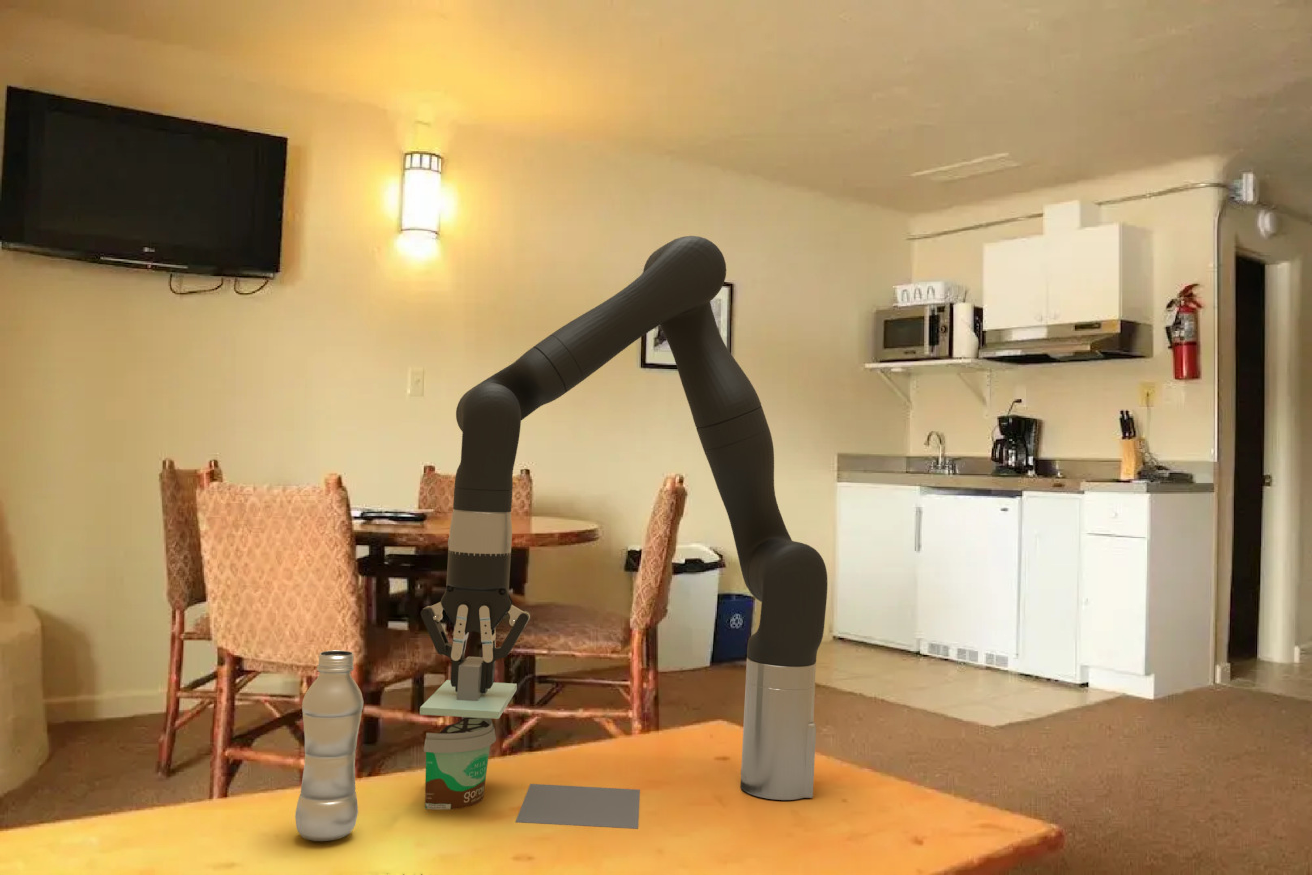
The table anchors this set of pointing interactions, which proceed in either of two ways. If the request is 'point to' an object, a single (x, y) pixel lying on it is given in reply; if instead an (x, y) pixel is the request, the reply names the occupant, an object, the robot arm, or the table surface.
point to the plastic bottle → (330, 750)
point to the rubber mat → (580, 806)
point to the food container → (457, 763)
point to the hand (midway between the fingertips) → (471, 690)
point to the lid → (469, 695)
